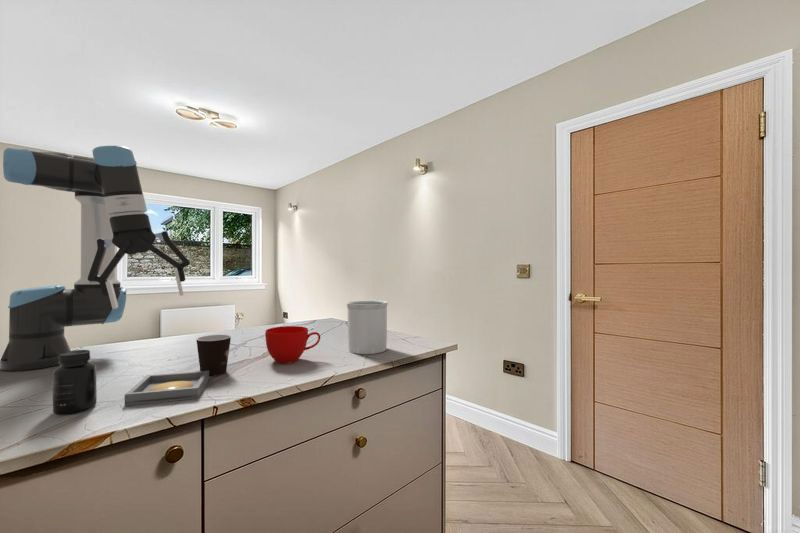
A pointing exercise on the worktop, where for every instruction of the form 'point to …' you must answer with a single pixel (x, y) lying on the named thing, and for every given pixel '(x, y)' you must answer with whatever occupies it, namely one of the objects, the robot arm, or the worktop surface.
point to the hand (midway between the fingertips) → (149, 301)
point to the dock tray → (167, 388)
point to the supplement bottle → (74, 383)
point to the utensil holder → (367, 326)
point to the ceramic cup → (288, 342)
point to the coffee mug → (213, 353)
